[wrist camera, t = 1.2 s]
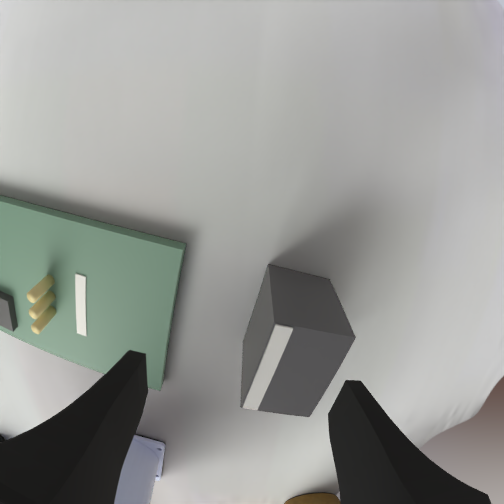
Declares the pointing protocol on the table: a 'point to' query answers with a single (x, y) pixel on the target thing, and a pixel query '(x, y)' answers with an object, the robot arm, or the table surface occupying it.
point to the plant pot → (315, 499)
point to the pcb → (86, 287)
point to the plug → (293, 343)
